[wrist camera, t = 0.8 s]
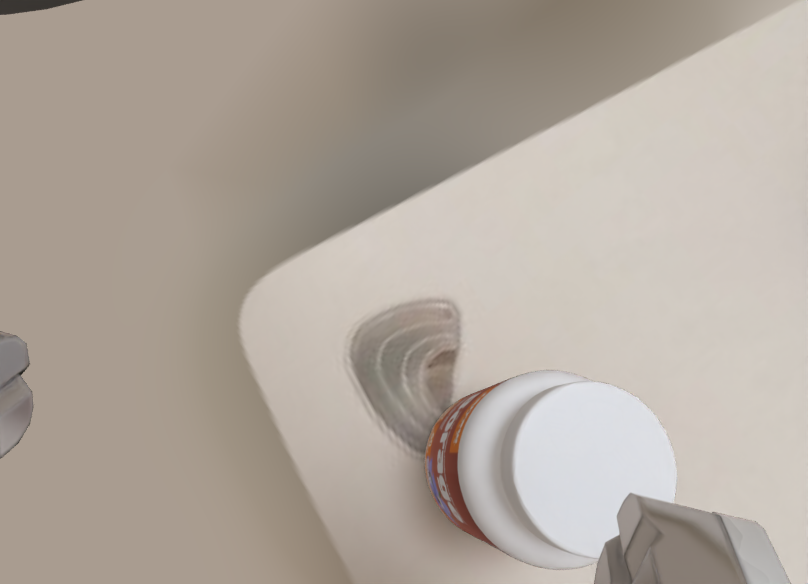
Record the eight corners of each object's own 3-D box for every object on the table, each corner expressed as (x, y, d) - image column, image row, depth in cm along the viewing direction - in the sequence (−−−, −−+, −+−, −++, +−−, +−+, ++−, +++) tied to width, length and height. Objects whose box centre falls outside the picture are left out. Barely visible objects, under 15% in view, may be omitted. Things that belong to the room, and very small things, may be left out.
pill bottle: (430, 383, 28) (494, 336, 17) (562, 401, 29) (703, 366, 18) (414, 530, 26) (475, 577, 16) (555, 546, 27) (706, 603, 16)
